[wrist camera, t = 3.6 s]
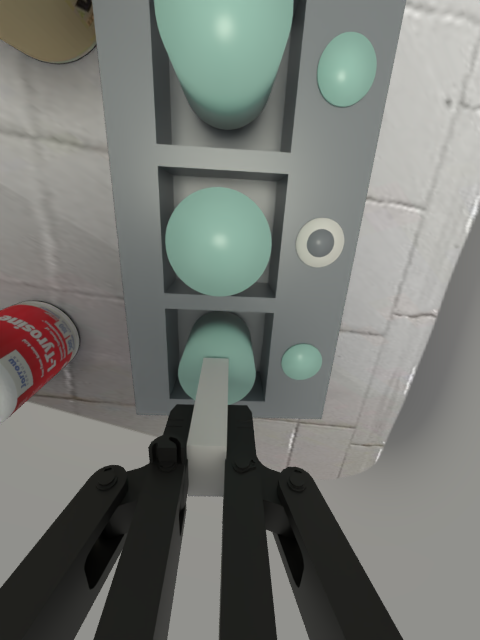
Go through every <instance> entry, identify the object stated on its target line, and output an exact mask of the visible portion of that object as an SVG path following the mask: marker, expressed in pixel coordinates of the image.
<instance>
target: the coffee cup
mask: <svg viewBox="0 0 480 640" xmlns="http://www.w3.org/2000/svg"><path fill="white" fill-rule="evenodd" d="M0 39H1V40H3V41H4V42H6V43H8V44H9V45H11V46H13V47H14V48H16V49H18V50H19V51H21V52H23V53H24V54H26V55H28V56H30V57H32V58H35V59H38V60H41V61H44V62H50V63H67V62H71V61H75V60H77V59H79V58H81V57H83V56H84V55H86V54H87V53H88V52H89V51H90V50H92V49H93V48H94V46H95V45H96V44H97V42H96V33H95V24H94V14H93V5H92V0H0Z"/></svg>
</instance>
